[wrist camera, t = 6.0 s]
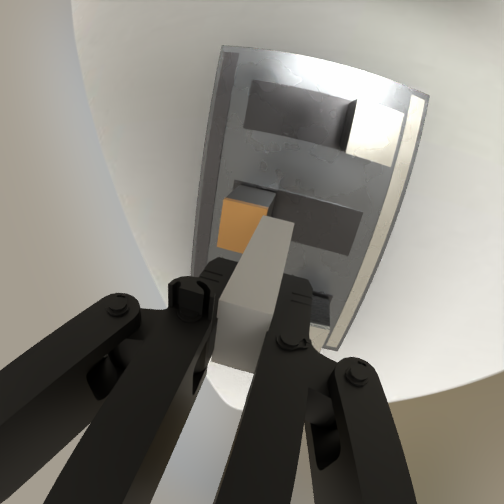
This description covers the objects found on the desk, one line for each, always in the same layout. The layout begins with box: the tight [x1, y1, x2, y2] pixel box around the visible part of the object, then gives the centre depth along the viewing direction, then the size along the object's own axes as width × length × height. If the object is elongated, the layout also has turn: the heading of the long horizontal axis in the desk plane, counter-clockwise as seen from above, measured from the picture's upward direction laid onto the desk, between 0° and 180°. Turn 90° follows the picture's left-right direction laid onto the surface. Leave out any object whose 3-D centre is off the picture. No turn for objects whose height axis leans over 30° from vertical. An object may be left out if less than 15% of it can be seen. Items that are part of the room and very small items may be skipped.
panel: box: [191, 45, 429, 352], centre depth 18 cm, size 22×14×6 cm, turn 170°
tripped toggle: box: [217, 185, 276, 254], centre depth 18 cm, size 3×2×4 cm
